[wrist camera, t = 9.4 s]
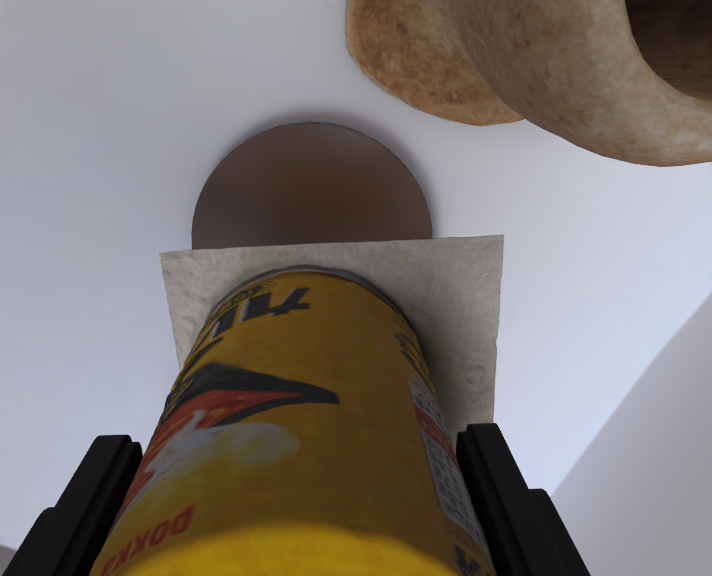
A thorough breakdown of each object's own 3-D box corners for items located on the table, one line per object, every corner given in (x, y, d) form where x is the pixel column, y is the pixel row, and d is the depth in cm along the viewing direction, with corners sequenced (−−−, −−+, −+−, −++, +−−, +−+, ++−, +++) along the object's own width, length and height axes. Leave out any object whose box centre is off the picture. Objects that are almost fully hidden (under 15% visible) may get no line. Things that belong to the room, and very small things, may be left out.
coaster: (181, 122, 25) (178, 123, 24) (436, 121, 25) (439, 122, 25) (205, 352, 29) (203, 356, 28) (425, 346, 29) (427, 351, 29)
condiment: (161, 250, 14) (-410, 931, 3) (502, 232, 15) (1089, 787, 3) (201, 489, 17) (-29, 1315, 6) (488, 469, 17) (796, 1216, 6)
